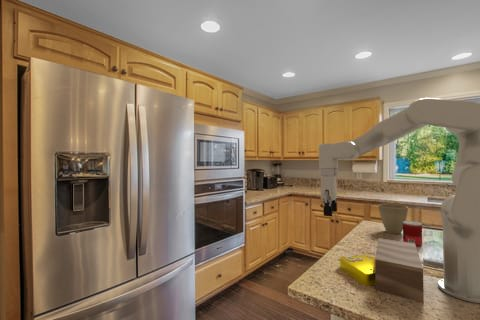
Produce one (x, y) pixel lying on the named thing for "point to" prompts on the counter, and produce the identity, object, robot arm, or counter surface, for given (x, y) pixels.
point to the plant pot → (393, 217)
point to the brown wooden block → (399, 269)
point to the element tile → (360, 268)
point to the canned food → (412, 232)
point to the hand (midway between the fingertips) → (330, 213)
